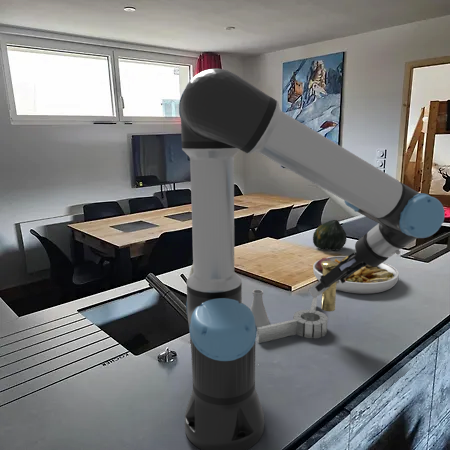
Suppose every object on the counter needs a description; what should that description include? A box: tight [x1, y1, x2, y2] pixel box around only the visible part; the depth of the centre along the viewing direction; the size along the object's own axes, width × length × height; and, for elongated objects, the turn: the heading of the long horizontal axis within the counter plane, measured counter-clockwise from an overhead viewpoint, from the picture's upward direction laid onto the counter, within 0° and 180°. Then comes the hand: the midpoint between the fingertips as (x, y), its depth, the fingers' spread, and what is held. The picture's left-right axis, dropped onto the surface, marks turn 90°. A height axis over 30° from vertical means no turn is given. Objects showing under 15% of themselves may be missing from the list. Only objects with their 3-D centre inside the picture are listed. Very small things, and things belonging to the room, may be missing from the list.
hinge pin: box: [320, 261, 339, 312], centre depth 106 cm, size 4×4×13 cm
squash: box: [312, 219, 347, 251], centre depth 186 cm, size 14×15×15 cm
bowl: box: [312, 255, 400, 295], centre depth 147 cm, size 30×30×8 cm
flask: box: [249, 288, 271, 329], centre depth 115 cm, size 7×7×10 cm
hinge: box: [256, 296, 329, 344], centre depth 115 cm, size 27×18×4 cm, turn 163°
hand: (316, 291), depth 109 cm, fingers closed on hinge pin, 3 cm apart
